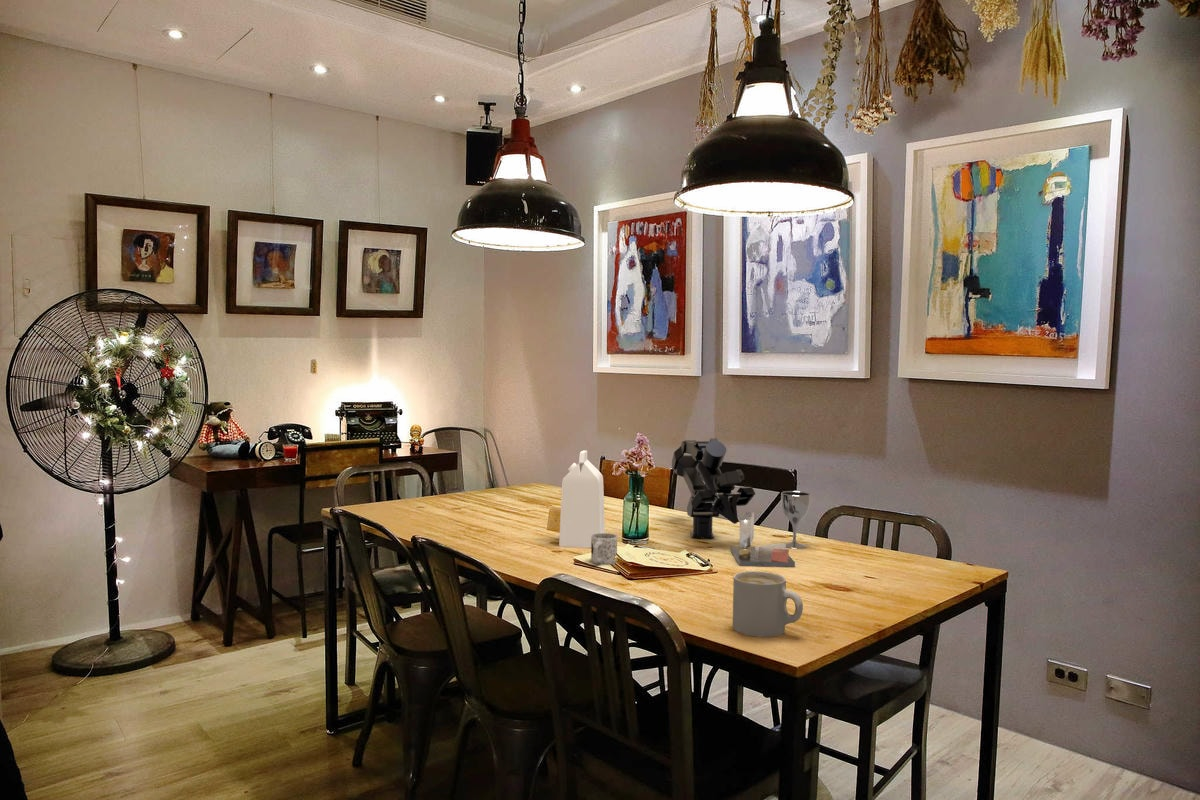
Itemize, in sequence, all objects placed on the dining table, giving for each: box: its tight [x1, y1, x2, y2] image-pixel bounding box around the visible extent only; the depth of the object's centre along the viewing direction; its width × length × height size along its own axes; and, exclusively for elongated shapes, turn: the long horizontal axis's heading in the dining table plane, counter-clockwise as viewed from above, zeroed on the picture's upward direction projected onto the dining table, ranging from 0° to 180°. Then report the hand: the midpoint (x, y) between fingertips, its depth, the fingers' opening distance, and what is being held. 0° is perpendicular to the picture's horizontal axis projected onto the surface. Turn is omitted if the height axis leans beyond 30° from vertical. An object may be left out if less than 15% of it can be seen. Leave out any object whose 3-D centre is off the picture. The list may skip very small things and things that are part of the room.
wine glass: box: [780, 490, 811, 550], centre depth 232 cm, size 8×8×15 cm
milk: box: [558, 450, 606, 549], centre depth 232 cm, size 12×12×26 cm
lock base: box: [730, 542, 796, 568], centre depth 216 cm, size 17×14×4 cm
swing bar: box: [739, 511, 755, 548], centre depth 217 cm, size 13×3×7 cm, turn 163°
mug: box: [590, 532, 618, 566], centre depth 209 cm, size 10×7×7 cm, turn 159°
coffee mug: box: [732, 570, 804, 638], centre depth 157 cm, size 13×10×10 cm
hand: (736, 522), depth 225 cm, fingers closed
